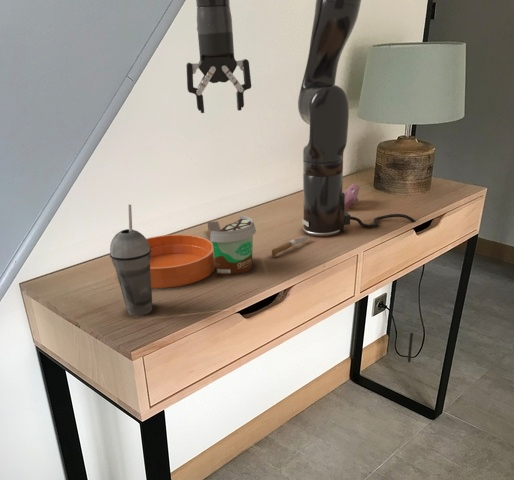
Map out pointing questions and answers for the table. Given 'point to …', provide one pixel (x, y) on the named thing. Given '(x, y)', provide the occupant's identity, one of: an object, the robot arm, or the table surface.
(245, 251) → the food container
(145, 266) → the beverage cup
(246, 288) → the table surface
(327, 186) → the robot arm
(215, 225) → the dark brown wooden block
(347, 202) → the pink toy figure
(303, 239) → the folding knife
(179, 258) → the bowl
